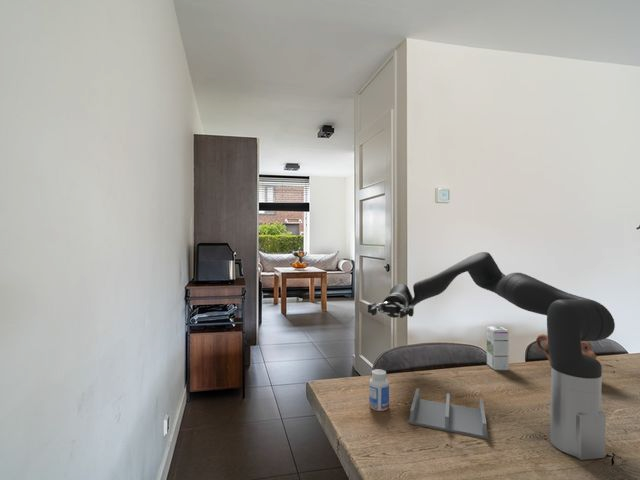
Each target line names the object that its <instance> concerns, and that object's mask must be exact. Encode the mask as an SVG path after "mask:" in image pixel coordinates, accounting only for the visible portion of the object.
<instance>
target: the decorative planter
mask: <svg viewBox="0 0 640 480" xmlns="http://www.w3.org/2000/svg"><path fill="white" fill-rule="evenodd" d="M543 340H544V341H545V343H544V345H543V347H542V345H541V342H542V341H543ZM535 341H536V344H537V347H538V349H540V350H541V351H542V352H543V353H544V354H545V356H546V357H547V360H548V362H549V365H550V366H551V358H550V355H549V351H548V334H539V335H538V336H537V337H536V339H535ZM581 349H582V353H583V354H584V355H587V356H589V357H592V358H594V359H596V360H597V355H596V354H595V352H594V350H593V348H592V344H591V341H581Z"/></svg>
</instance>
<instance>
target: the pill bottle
mask: <svg viewBox="0 0 640 480" xmlns="http://www.w3.org/2000/svg"><path fill="white" fill-rule="evenodd" d="M368 383H369V385H368V388H369V390H368V391H369V392H368V393H369V408H370V409H372V410H374V411H377V412H383V411H387V410H388V409H389V407H390V381H389V380H388V379H387V371H386V370H384V369H380V368H379V369H378V368H375V369H372V370H371V378H370V379H369V382H368Z"/></svg>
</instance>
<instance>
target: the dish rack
mask: <svg viewBox="0 0 640 480" xmlns="http://www.w3.org/2000/svg"><path fill="white" fill-rule="evenodd" d="M450 399H451V393H446V399H445V400H446V401H445V402H440V401H435V400H428V399H423V398H420V388H415V392H414V396H413V400H412V402H411V406H410V410H409V413H410V414H409V418H408V424H409V425H415V426H420V427H424V428H425V427H426V428H430V429H434V430H439V431H445V432H451V433H455V434H459V435H464V436H470V437H474V438H480V439H484V440H485V439H486V440H489V433H488V428H487V419H486V412H485V405H484V400H483V398H479V400H478V408H474V407H469V406H464V405H459V404H452V403H450V402H451V400H450Z"/></svg>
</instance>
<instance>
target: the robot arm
mask: <svg viewBox="0 0 640 480" xmlns="http://www.w3.org/2000/svg"><path fill="white" fill-rule="evenodd" d="M466 272H467V273H468V274H469V276H470V277H471V279H472V281H473V282H474V283H475V285H477V286H478V287H479V288H481V289H483V290H487V291H489V292H492V293H495V294H496V295H498V296H499V297H501V298H503V299H504V300H506V301H507V302H508V303H510V304H512V305H514V306H516V307H517V308H520V309H522V310H524V311H527V312H531V313H534V314H537V315H538V314H539V315H542V316H546V330H547V331H546V333H547V334H546V335H548V351H549V355H550V358H551V365H550V367H551V368H550V413H549V414H550V417H549V418H550V421H549V422H550V429H549V430H550V431H549V439H550V443H551V444H552V446H554V447H555V448H556V449H558V450H559V451H561V452H563V453H566V454H568V455H570V456H572V457H575V458H577V459H578V460H580V461H582V460H583V461H585V460H595V459H604V458H606V419H607V416H606V413H605V412H602V383H603V382H602V381H603V380H602V375H603V374H602V373H603V368H602V367H603V366H602V363H601V362H600V361H599V360H597V358H596V359H594V358H592V357H589V356H587V355H584V354H583V353H582V349H581V341H589V342H598V341H602V340H605V339H607V338H609V337H611V335H613V333H614V331H615V328H616V327H615V326H616V325H615V319H614V317H613V315H612V313H611V312H610V311H609V309H608V308H606V307H605V306H604V305H603V304H601V303H600V302H599V301H596V300H593V299H590V298H586V297H583V296H579V295H575V294H573V293H569V292H568V291H564V290H561V289H559V288H557V287H555V286H552V285H550V284H548V283H546V282H544V281H541V280H539V279H537V278H535V277H532V276H531V275H528V274H525V273H522V272H511V273H508V274H504V273H503V272H502V271H501V269H500V268H499V266H498V264H497V263H496V261H495V259H494V257H493V255H491V254H490V253H489V252H488V251H481V252H477V253H475V254H471V255H470V256H468V257H466V258H464V259H462V260H461V261H458V262H457V263H455V264H453V265H451V266H450V267H448V268H446V269H444V270H442V271H441V272H439V273H437V274H434V275H432V276H431V277H428V278H425V279H422V280H419V281H416V282H414V284H413V286H412V289H413V295H412V293H411V291H410V289H409V287H408V286H407V285H406V284H405V283H397V284H396V285H394V286H392V288H390V291H389V295H387V297H385V298H384V299H383V302H379V303H376V302H375V301H372V302H371V303H370V302H369V303H368V304H367V313H369V314H371V316H376V315H377V314H379V315H386V316H388V317H390V318H393V319H394V318H395V319H396V318H402V319H403V318H405V317H407V316H408V317H411V318H412V317H414V313H415V311H414V309H415V306H416V305H418V304H419V303H421V302H422V301H425V300H428V299H430V298H433V297H436V296H439V295H441V294H442V293H444V292H445V291H446V290H447V289H448V287H449V286H450V285H451V283H452V282H453V281H454V280H455V279H456V278H457V277H458V276H460V275H461V274H464V273H466Z"/></svg>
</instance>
